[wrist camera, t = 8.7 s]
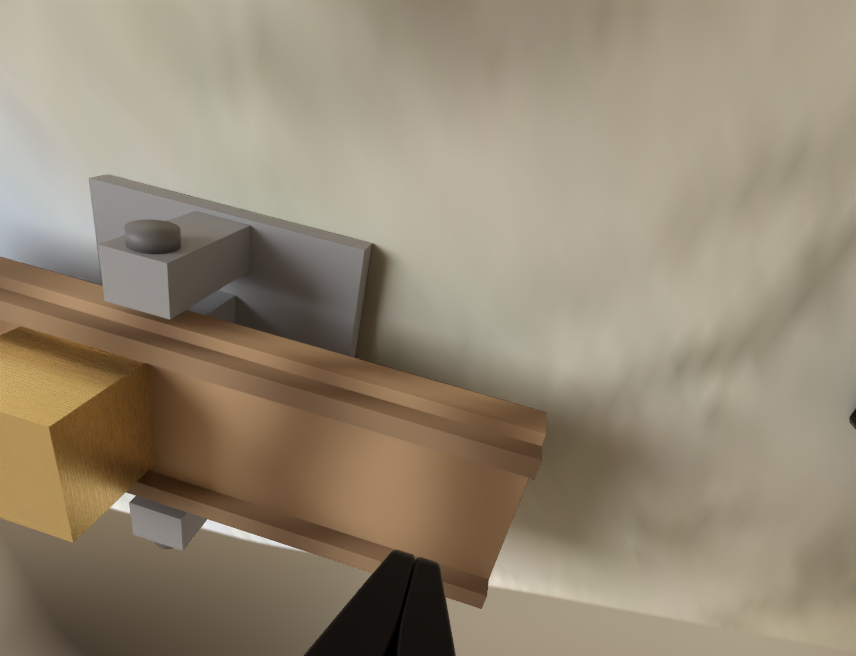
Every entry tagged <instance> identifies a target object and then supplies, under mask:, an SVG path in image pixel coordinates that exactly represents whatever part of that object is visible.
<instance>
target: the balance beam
mask: <svg viewBox="0 0 856 656" xmlns="http://www.w3.org/2000/svg"><path fill="white" fill-rule="evenodd" d="M20 326H23V327H27V328H30V329H33V330H37V331H40V332H43V333H47V334H50V335H53V336H57V337H60V338H63V339H67V340H70V341H73V342H77V343H80V344H83V345H87V346H90V347H93V348H97V349H100V350H104V351H107V352H110V353H114V354H117V355H120V356H124V357H127V358H130V359H134V360H137V361H140V362H144V363H147V365H148V377H149V388H150V400H151V412H152V423H153V435H154V447H155V458H156V464H154V465H153V466H152V467H151V468H150V469H149V470H148V471H147V472H146V473H145V474H144V475H143V476H142V477H141V478H140V479H139V480H138V481H137V482H136V483H135V484H134V485H133V486H132V487H131V488H129V489H128V490H127V491H126V492H127V493H130V494H133V495H136V496H139V497H142V498H145V499H148V500H151V501H154V502H157V503H160V504H163V505H166V506H169V507H172V508H175V509H179V510H182V511H185V512H188V513H191V514H194V515H197V516H200V517H203V518H206V519H209V520H212V521H215V522H218V523H221V524H224V525H227V526H230V527H233V528H236V529H239V530H243V531H246V532H249V533H252V534H255V535H258V536H261V537H264V538H267V539H270V540H273V541H276V542H279V543H282V544H285V545H288V546H291V547H294V548H297V549H300V550H304V551H307V552H310V553H313V554H316V555H319V556H322V557H325V558H328V559H331V560H334V561H337V562H340V563H343V564H347V565H349V566H352V567H355V568H359V569H362V570H365V571H368V572H371V573H374V571H375V570H376V569H377V568H378V567H379V565H380V564H381V563H382V562H383V561H384V559H385V558H386V557H387V556H388V555H389V554H390V552H392V551H393V550H395V549H397V550H401V551H404V552H407V553H410V554H413V555H414V556H415V560H416V558H417V557H423V558H426V559H429V560H432V561H435V562H437V563H438V564H439V566H440V569H441V575H442V581H443V586H444V592H445V597H447V598H450V599H453V600H456V601H459V602H462V603H465V604H468V605H471V606H475V607H477V608H480V609H482V607H483V604H484V602H485V599H486V597H487V590H488V581H489V577H490V575H491V572H492V570H493V567H494V565H495V562H496V560H497V557H498V555H499V552H500V550H501V547H502V545H503V542H504V540H505V537H506V535H507V532H508V530H509V527H510V524H511V522H512V519H513V517H514V514H515V512H516V509H517V507H518V504H519V502H520V499H521V497H522V494H523V492H524V489H525V487H526V484H527V482H528V479H529V478H531V479H534V478H535V476H536V473H537V471H538V468H539V466H540V464H541V461H542V444H543V442H544V439H545V436H546V412H542V411H539V410H535V409H532V408H528V407H525V406H521V405H518V404H514V403H511V402H507V401H504V400H500V399H497V398H493V397H490V396H486V395H483V394H479V393H476V392H472V391H469V390H465V389H462V388H458V387H455V386H451V385H448V384H444V383H441V382H437V381H434V380H430V379H427V378H423V377H420V376H416V375H413V374H409V373H406V372H402V371H399V370H395V369H392V368H388V367H385V366H381V365H378V364H374V363H371V362H367V361H364V360H360V359H357V358H353V357H350V356H346V355H343V354H339V353H336V352H332V351H329V350H325V349H322V348H318V347H315V346H311V345H308V344H304V343H301V342H297V341H294V340H290V339H287V338H283V337H280V336H276V335H273V334H269V333H266V332H262V331H259V330H255V329H252V328H248V327H245V326H241V325H238V324H234V323H231V322H227V321H224V320H220V319H217V318H213V317H210V316H206V315H203V314H199V313H196V312H192V311H189V310H185V311H183V312H182V313H180V314H178V315H177V316H175V317H173V318H172V319H166V318H163V317H159V316H156V315H152V314H149V313H145V312H142V311H138V310H135V309H131V308H128V307H124V306H121V305H117V304H114V303H110V302H107V301H104V293H103V286H101V285H98V284H94V283H91V282H87V281H84V280H80V279H77V278H73V277H70V276H66V275H63V274H59V273H56V272H52V271H49V270H45V269H42V268H38V267H35V266H31V265H28V264H24V263H21V262H17V261H14V260H10V259H7V258H3V257H0V335H2V334H4V333H6V332H9V331H11V330H13V329H15V328H18V327H20ZM413 567H414V566H413Z"/></svg>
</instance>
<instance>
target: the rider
mask: <svg viewBox="0 0 856 656" xmlns="http://www.w3.org/2000/svg"><path fill="white" fill-rule="evenodd" d="M154 464H156V458H155V447H154V435H153V423H152V412H151V400H150V388H149V377H148V365H147V363H144V362H140V361H137V360H134V359H130V358H127V357H124V356H120V355H117V354H114V353H110V352H107V351H104V350H100V349H97V348H93V347H90V346H87V345H83V344H80V343H77V342H73V341H70V340H67V339H63V338H60V337H57V336H53V335H50V334H47V333H43V332H40V331H37V330H33V329H30V328H27V327H23V326H20V327H18V328H15V329H13V330H11V331H9V332H6V333H4V334H2V335H0V518H2V519H5V520H8V521H11V522H14V523H17V524H20V525H23V526H26V527H29V528H32V529H35V530H38V531H41V532H44V533H47V534H49V535H52V536H55V537H58V538H61V539H64V540H67V541H70V542H74V541H75V540H76V539H77V538H78V537H79V536H81V535H82V534H83V533H84V532H85V531H86V530H87V529H88V528H89V527H90V526H91V525H92V524H93V523H94V522H95V521H96V520H97V519H98V518H99V517H100V516H101V515H102V514H103V513H104V512H105V511H107V510H108V509H109V508H110V507H111V506H112V505H113V504H114V503H115V502H116V501H117V500H118V499H119V498H120V497H121V496H122V495H123V494H124V493H125V492H126V491H127V490H128V489H129V488H131V487H132V486H133V485H134V484H135V483H136V482H137V481H138V480H139V479H140V478H141V477H142V476H143V475H144V474H145V473H146V472H147V471H148V470H149V469H150V468H151V467H152V466H153V465H154Z"/></svg>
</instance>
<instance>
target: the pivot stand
mask: <svg viewBox="0 0 856 656" xmlns="http://www.w3.org/2000/svg"><path fill="white" fill-rule="evenodd" d="M89 184H90V192H91V200H92V208H93V216H94V224H95V232H96V240H97V249H98V257H99V265H100V273H101V281H102V286H103V293H104V301H107V302H110V303H114V304H117V305H121V306H124V307H128V308H131V309H135V310H138V311H142V312H145V313H149V314H152V315H156V316H159V317H163V318H166V319H172V318H173V317H175V316H177V315H178V314H180V313H182V312H183V311H185V310H189V311H192V312H196V313H199V314H203V315H206V316H210V317H213V318H217V319H220V320H224V321H227V322H231V323H234V324H238V325H241V326H245V327H248V328H252V329H255V330H259V331H262V332H266V333H269V334H273V335H276V336H280V337H283V338H287V339H290V340H294V341H297V342H301V343H304V344H308V345H311V346H315V347H318V348H322V349H325V350H329V351H332V352H336V353H339V354H343V355H346V356H350V357H353V358H355V355H356V348H357V342H358V335H359V328H360V322H361V315H362V308H363V302H364V295H365V288H366V282H367V275H368V268H369V262H370V255H371V248H372V243H369V242H365V241H361V240H358V239H354V238H350V237H346V236H342V235H338V234H335V233H331V232H327V231H323V230H319V229H315V228H311V227H308V226H304V225H300V224H296V223H292V222H288V221H285V220H281V219H277V218H273V217H269V216H265V215H261V214H258V213H254V212H250V211H246V210H242V209H238V208H235V207H231V206H227V205H223V204H219V203H215V202H211V201H208V200H204V199H200V198H196V197H192V196H188V195H185V194H181V193H177V192H173V191H169V190H165V189H161V188H158V187H154V186H150V185H146V184H142V183H138V182H135V181H131V180H127V179H123V178H119V177H115V176H111V175H102V176H97V177H92V178H89ZM129 505H130V513H131V521H132V529H133V535H136V536H139V537H142V538H145V539H148V540H151V541H154V542H155V544H156V545H157V546H159V547H161V548H164V549H172V548H175V549H179V550H182V551H183V550H184V549H185V547H186V546H187V545H188V543H189V542H190V541H191V540H192V538H193V537H194V536H195V534H196V533H197V532H198V531H199V529H200V528H201V527H202V525H203V524H204V523H205V522H206V520H207V519H206V518H203V517H200V516H197V515H194V514H191V513H188V512H185V511H182V510H179V509H175V508H172V507H169V506H166V505H163V504H160V503H157V502H154V501H151V500H148V499H145V498H142V497H139V496H135V497H134V498H133V499H132V500H131V501H130V502H129Z"/></svg>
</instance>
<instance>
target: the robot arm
mask: <svg viewBox="0 0 856 656" xmlns="http://www.w3.org/2000/svg"><path fill="white" fill-rule="evenodd" d="M850 423H851V425H852V426H853V427H854V428H855V429H856V409H855V410H854V412H853V413H852V414H851V416H850ZM413 566H414V567H413ZM304 656H456V655H455V648H454V643H453V637H452V632H451V626H450V620H449V614H448V609H447V603H446V597H445V592H444V586H443V581H442V575H441V569H440V566H439V564H438V563H437V562H435V561H432V560H429V559H426V558H423V557H417V558H416V560H415V556H414V555H413V554H410V553H407V552H404V551H401V550H397V549H395V550H393V551H392V552H390V554H389V555H388V556H387V557H386V558H385V559H384V561H383V562H382V563H381V564H380V565H379V567H378V568H377V569H376V570H375V571H374V573H373V574H372V575H371V576H370V577H369V578H368V580H367V581H366V582H365V583H364V584H363V586H362V587H361V588H360V589H359V590H358V592H357V593H356V594H355V595H354V596H353V598H352V599H351V600H350V601H349V602H348V603H347V605H346V606H345V607H344V608H343V609H342V611H341V612H340V613H339V614H338V615H337V617H336V618H335V619H334V620H333V622H332V623H331V624H330V625H329V626H328V627H327V628H326V630H325V631H324V632H323V633H322V634H321V635H320V637H319V638H318V639H317V640H316V641H315V643H314V644H313V645H312V646H311V647H310V649H309V650H308V651H307V652H306V653H305V655H304Z"/></svg>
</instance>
